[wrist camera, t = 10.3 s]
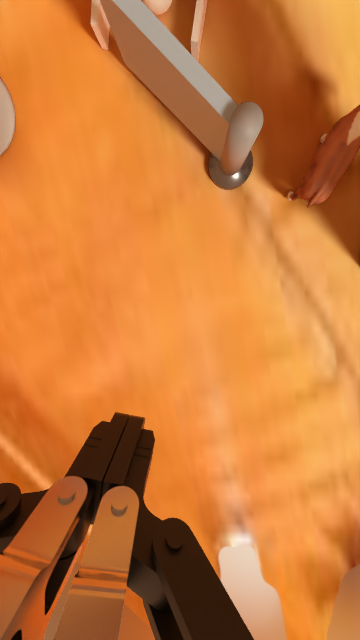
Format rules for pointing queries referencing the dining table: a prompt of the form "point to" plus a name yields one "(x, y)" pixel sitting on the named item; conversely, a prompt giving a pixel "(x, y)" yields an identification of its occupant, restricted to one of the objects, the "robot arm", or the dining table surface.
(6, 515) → the robot arm
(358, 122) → the bull figurine
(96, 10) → the pocket
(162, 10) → the ball
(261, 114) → the paddle
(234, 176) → the lever base
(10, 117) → the chalice
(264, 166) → the dining table surface
